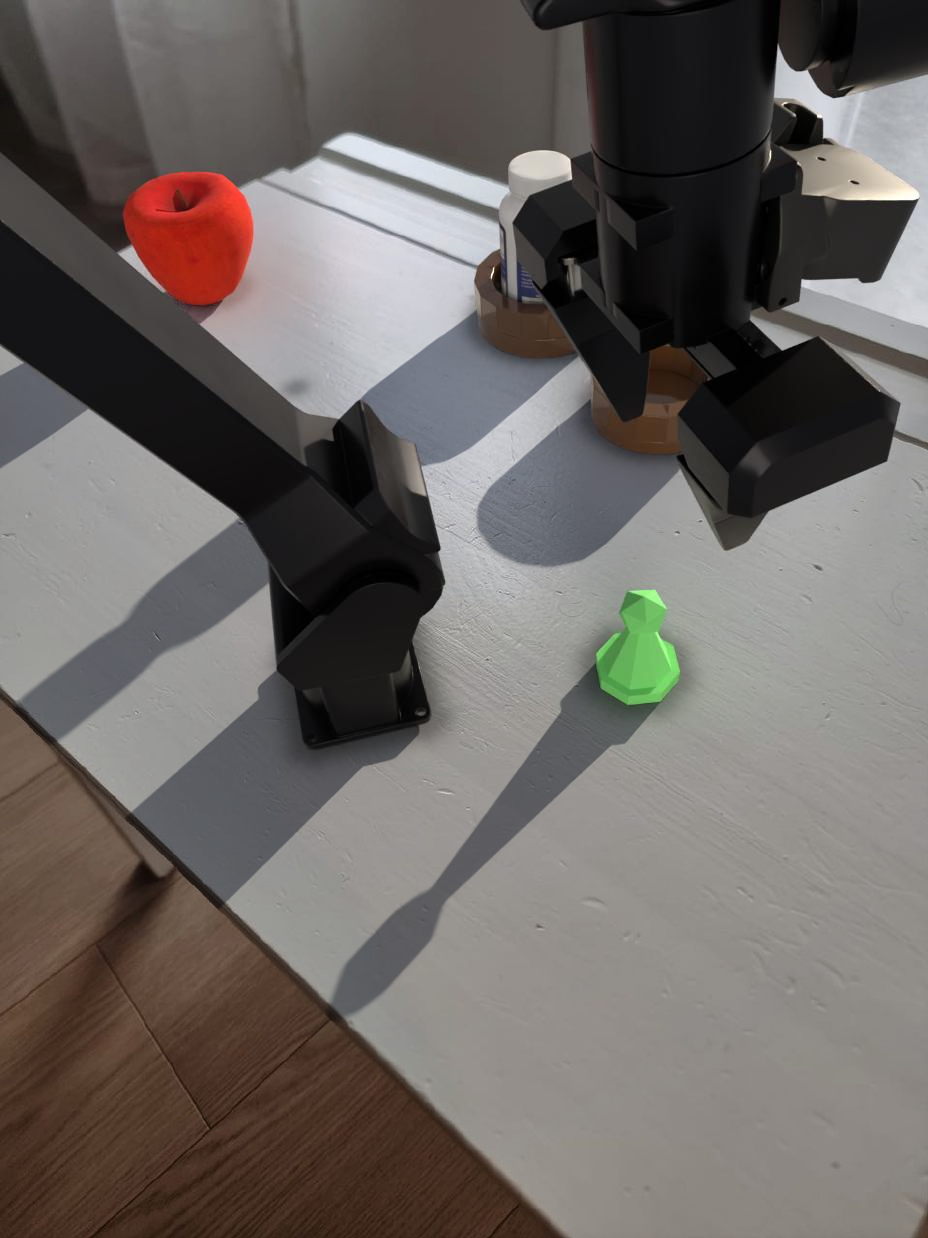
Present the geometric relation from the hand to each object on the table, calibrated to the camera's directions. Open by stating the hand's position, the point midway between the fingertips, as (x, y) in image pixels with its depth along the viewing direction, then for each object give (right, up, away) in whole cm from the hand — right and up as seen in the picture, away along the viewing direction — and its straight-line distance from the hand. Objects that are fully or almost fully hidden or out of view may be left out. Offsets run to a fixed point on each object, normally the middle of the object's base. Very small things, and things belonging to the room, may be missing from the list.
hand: (679, 477), depth 44 cm
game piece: (-1, -9, +7) cm, 12 cm away
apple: (-29, +19, +32) cm, 47 cm away
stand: (-4, +15, +27) cm, 31 cm away
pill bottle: (-4, +16, +26) cm, 30 cm away
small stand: (+3, +7, +20) cm, 21 cm away
